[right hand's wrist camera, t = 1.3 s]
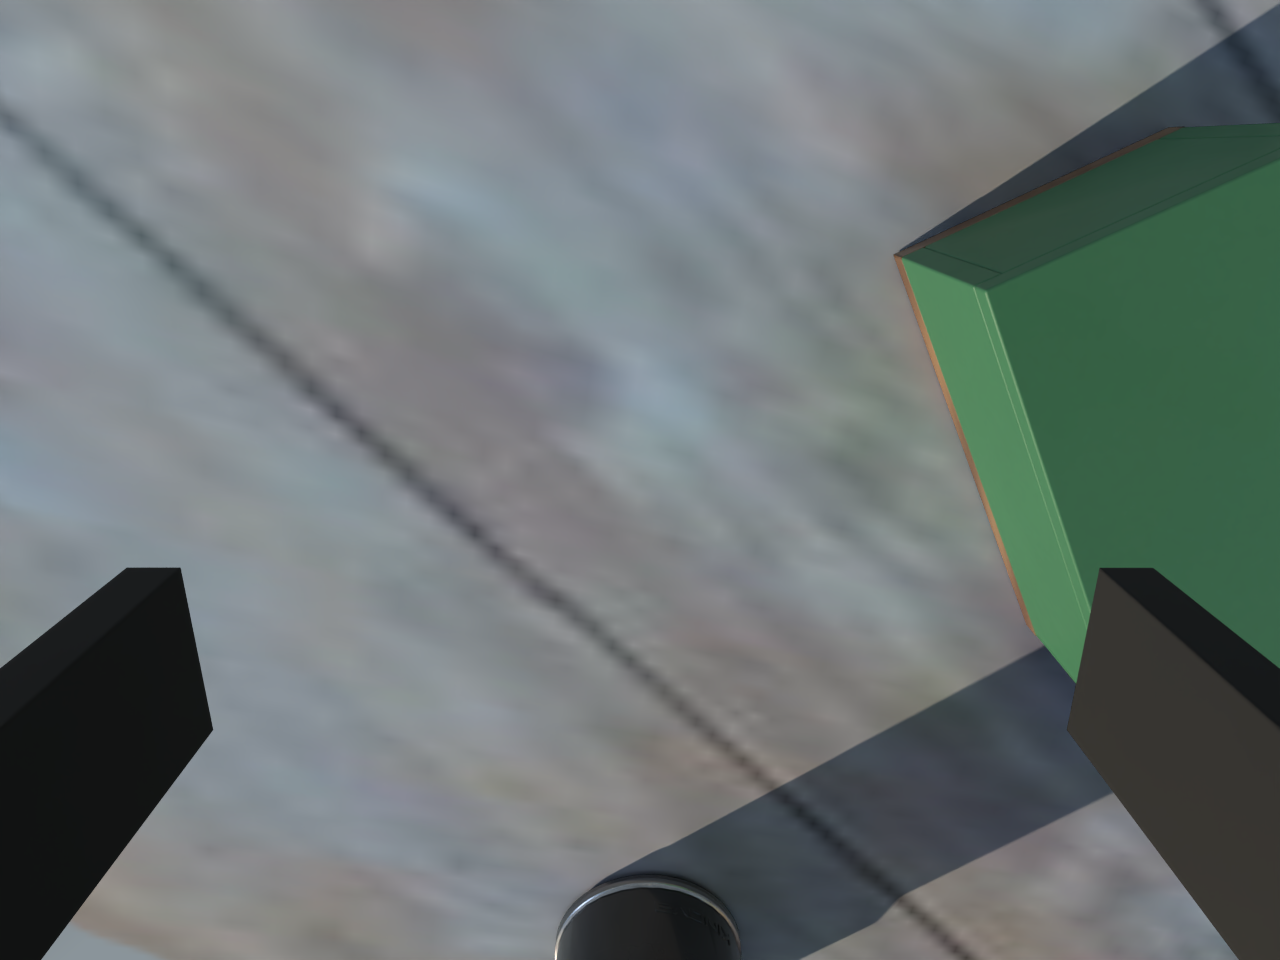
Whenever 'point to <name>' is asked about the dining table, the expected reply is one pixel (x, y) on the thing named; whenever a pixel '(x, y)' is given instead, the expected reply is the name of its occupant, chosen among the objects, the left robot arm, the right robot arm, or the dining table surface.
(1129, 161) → the cabinet
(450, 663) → the dining table surface
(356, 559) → the dining table surface
